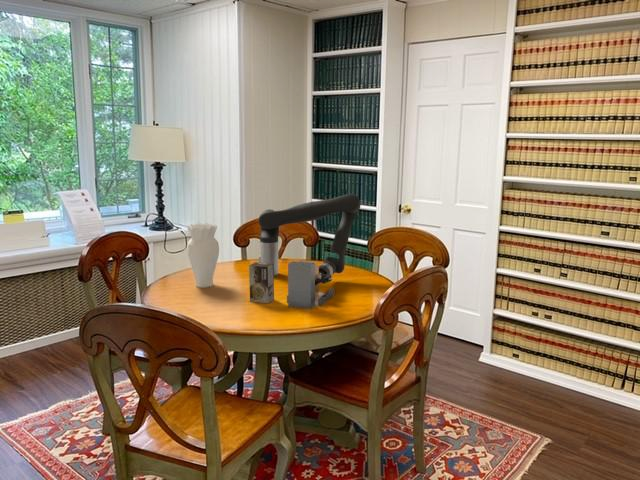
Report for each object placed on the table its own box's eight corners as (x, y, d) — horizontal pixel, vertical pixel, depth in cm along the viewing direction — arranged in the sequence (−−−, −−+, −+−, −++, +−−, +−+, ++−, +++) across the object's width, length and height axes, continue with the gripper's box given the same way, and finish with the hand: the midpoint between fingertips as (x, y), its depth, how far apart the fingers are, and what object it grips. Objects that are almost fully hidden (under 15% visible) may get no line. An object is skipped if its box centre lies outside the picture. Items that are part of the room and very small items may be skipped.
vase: (219, 288, 249) (217, 227, 244) (187, 290, 247) (184, 227, 242) (220, 280, 263) (218, 222, 258) (189, 281, 261) (187, 222, 256)
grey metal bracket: (282, 305, 225) (282, 263, 221) (302, 291, 246) (302, 252, 243) (316, 310, 220) (317, 266, 216) (334, 294, 241) (334, 254, 238)
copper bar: (305, 298, 234) (305, 267, 232) (309, 295, 238) (309, 264, 236) (315, 299, 233) (315, 267, 230) (318, 296, 237) (318, 265, 234)
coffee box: (274, 299, 234) (274, 263, 231) (268, 303, 228) (268, 266, 225) (255, 297, 237) (255, 261, 234) (249, 301, 231) (248, 264, 228)
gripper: (308, 263, 249) (294, 272, 233) (337, 266, 244) (325, 275, 229) (308, 279, 250) (294, 289, 235) (337, 282, 246) (325, 292, 230)
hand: (309, 282), depth 232 cm, fingers closed on copper bar, 4 cm apart
